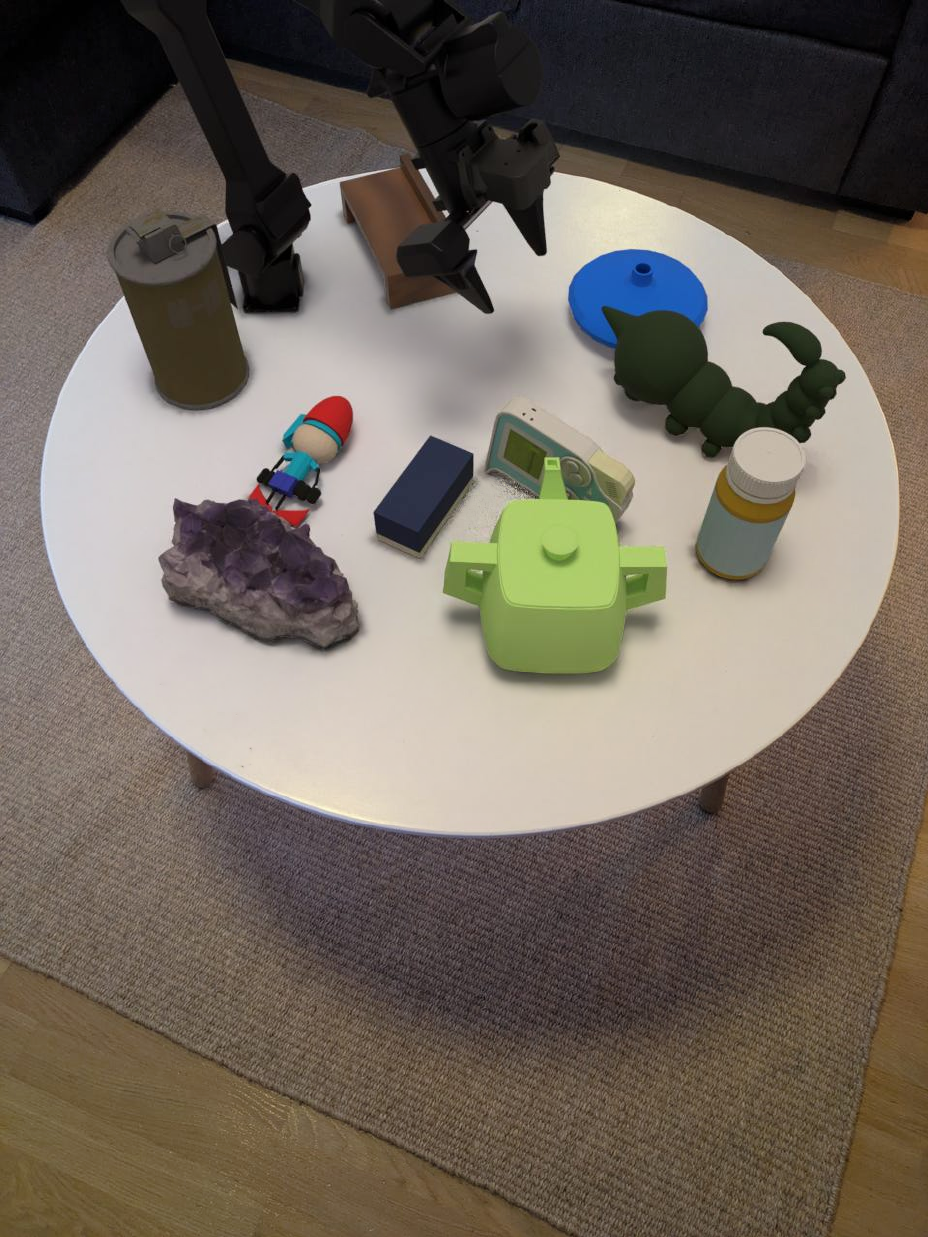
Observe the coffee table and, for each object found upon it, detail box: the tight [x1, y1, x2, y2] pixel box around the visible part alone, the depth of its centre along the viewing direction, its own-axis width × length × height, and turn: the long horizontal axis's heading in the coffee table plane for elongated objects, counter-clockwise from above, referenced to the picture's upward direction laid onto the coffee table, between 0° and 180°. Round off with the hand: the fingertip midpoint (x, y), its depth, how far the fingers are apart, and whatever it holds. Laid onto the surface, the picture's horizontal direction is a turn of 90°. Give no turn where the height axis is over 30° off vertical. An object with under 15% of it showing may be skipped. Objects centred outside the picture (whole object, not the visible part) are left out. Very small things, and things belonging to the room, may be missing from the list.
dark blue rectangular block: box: [372, 434, 475, 560], centre depth 100 cm, size 11×5×4 cm, turn 151°
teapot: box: [442, 457, 668, 674], centre depth 91 cm, size 18×20×13 cm
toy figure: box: [247, 395, 354, 528], centre depth 103 cm, size 8×5×15 cm
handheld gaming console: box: [483, 396, 636, 525], centre depth 98 cm, size 11×3×15 cm
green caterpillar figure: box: [602, 306, 847, 458], centre depth 100 cm, size 9×19×25 cm
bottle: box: [695, 427, 806, 580], centre depth 92 cm, size 7×7×15 cm
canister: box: [106, 208, 250, 410], centre depth 103 cm, size 11×10×20 cm
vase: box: [567, 248, 709, 350], centre depth 113 cm, size 16×16×7 cm
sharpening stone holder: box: [339, 152, 457, 311], centre depth 119 cm, size 9×18×6 cm, turn 21°
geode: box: [157, 497, 360, 651], centre depth 93 cm, size 20×12×10 cm, turn 65°
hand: (516, 283), depth 97 cm, fingers open, 9 cm apart
